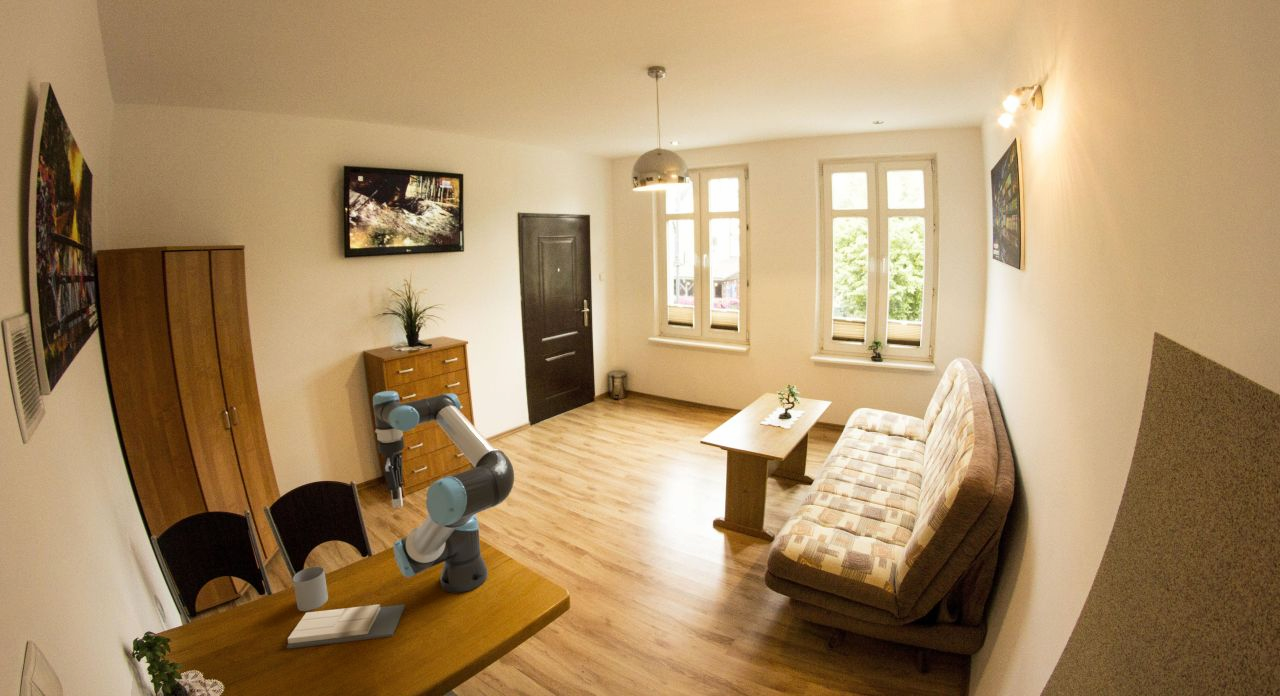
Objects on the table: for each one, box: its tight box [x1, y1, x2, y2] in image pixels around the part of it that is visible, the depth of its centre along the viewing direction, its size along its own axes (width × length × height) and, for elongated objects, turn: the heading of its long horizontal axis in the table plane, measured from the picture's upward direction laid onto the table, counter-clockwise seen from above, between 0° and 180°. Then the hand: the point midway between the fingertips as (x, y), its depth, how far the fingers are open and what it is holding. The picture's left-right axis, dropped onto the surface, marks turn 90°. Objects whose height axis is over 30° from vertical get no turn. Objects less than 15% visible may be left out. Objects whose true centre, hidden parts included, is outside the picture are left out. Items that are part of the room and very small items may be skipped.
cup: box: [292, 565, 329, 612], centre depth 166 cm, size 8×8×10 cm
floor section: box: [286, 604, 406, 650], centre depth 155 cm, size 28×13×2 cm, turn 98°
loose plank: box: [330, 603, 381, 638], centre depth 155 cm, size 10×11×2 cm
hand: (397, 506), depth 173 cm, fingers closed
